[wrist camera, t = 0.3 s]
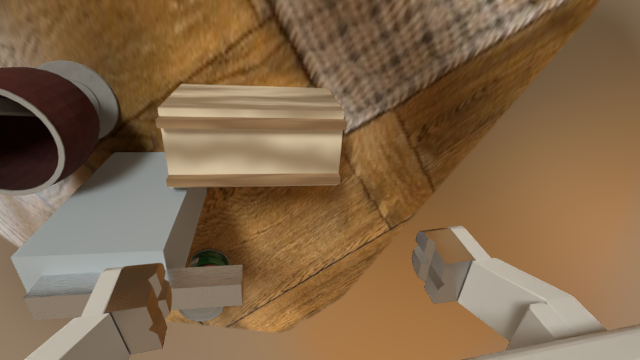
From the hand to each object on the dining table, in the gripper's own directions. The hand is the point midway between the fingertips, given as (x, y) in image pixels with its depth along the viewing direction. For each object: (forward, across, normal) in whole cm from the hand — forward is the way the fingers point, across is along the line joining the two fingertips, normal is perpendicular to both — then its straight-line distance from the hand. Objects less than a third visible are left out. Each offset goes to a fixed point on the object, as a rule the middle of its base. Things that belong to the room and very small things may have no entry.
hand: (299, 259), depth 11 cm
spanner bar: (+20, +14, +21) cm, 32 cm away
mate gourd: (+48, +28, +9) cm, 56 cm away
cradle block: (+46, 0, +13) cm, 48 cm away
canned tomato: (+45, +12, +44) cm, 64 cm away
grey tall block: (+46, +17, +22) cm, 55 cm away
